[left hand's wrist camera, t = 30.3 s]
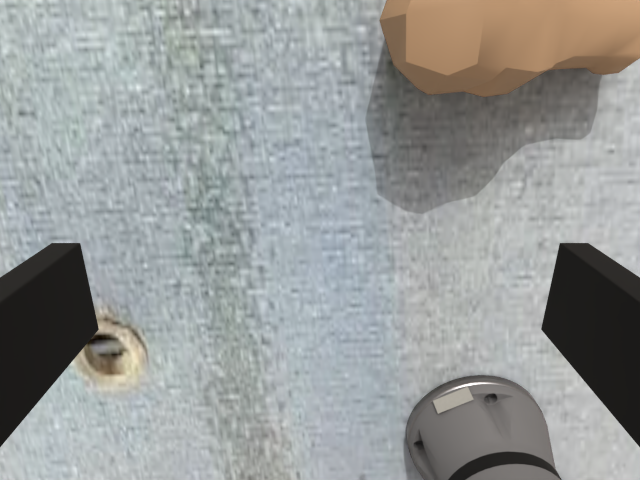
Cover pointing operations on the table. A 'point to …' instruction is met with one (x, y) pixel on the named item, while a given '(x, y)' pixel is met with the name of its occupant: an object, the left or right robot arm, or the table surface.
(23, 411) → the left robot arm
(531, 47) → the squash
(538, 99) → the table surface
